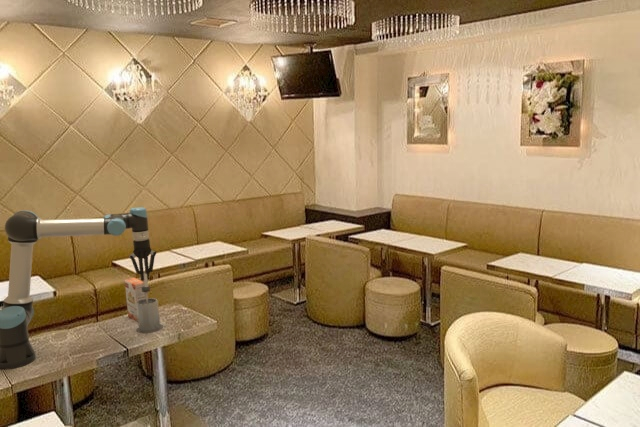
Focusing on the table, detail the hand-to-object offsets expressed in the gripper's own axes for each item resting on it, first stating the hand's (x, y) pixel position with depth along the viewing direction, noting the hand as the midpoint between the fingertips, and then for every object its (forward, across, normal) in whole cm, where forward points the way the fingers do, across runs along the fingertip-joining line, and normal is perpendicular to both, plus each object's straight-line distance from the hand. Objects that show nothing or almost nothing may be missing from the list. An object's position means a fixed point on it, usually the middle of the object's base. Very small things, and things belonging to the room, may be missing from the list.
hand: (145, 286), depth 259 cm
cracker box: (+23, 0, +20) cm, 30 cm away
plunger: (+12, 0, 0) cm, 12 cm away
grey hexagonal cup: (+22, 0, 0) cm, 22 cm away
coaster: (+22, 0, 0) cm, 22 cm away
